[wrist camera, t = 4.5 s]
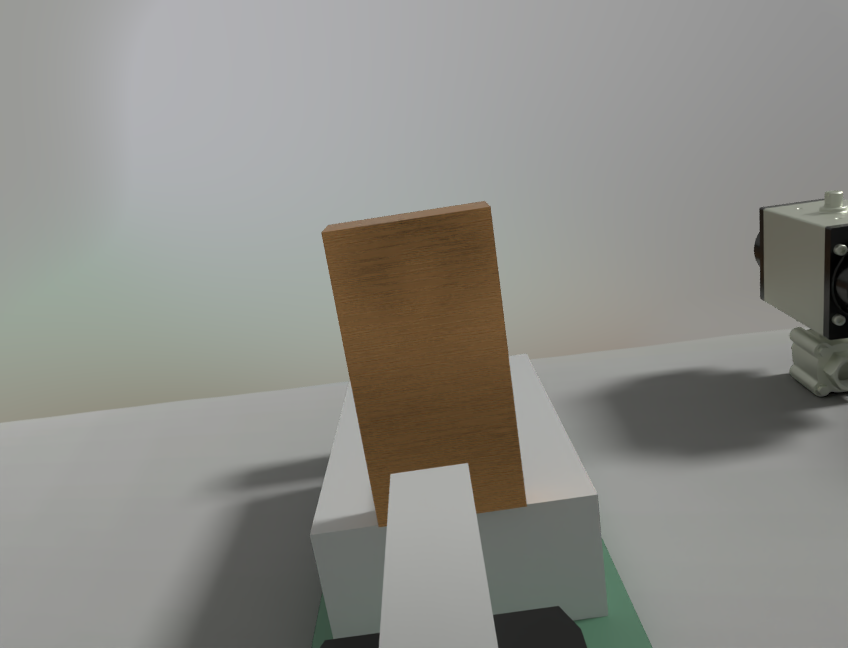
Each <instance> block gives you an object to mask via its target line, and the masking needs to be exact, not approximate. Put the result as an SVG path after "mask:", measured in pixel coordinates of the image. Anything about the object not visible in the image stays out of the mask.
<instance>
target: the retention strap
mask: <svg viewBox="0 0 848 648" xmlns="http://www.w3.org/2000/svg"><path fill="white" fill-rule="evenodd" d="M322 238H323V243H324V248H325V254H326V259H327V264H328V269H329V274H330V279H331V284H332V290H333V295H334V300H335V305H336V310H337V315H338V321H339V326H340V331H341V335H342V341H343V346H344V351H345V356H346V361H347V367H348V372H349V377H350V382H351V387H352V393H353V398H354V403H355V408H356V413H357V418H358V423H359V429H360V434H361V439H362V444H363V449H364V454H365V460H366V465H367V470H368V475H369V480H370V485H371V490H372V496H373V501H374V506H375V511H376V516H377V521H378V526H379V527H385V526H387V518H388V503H389V488H390V474H394V473H401V472H408V471H415V470H422V469H429V468H436V467H443V466H450V465H457V464H464V463H468V466H469V472H470V479H471V485H472V491H473V497H474V503H475V509H476V514H477V513H485V512H492V511H499V510H506V509H513V508H520V507H527V503H526V494H525V486H524V478H523V470H522V462H521V453H520V445H519V437H518V429H517V421H516V412H515V404H514V396H513V388H512V380H511V371H510V363H509V355H508V347H507V339H506V331H505V324H504V323H505V322H504V314H503V306H502V298H501V289H500V281H499V273H498V266H497V257H496V249H495V241H494V233H493V224H492V216H491V207H490V206H489V205H488V204H487V203H486V202H485V201H482V202H475V203H469V204H463V205H456V206H449V207H443V208H437V209H430V210H423V211H417V212H410V213H404V214H398V215H391V216H384V217H378V218H371V219H365V220H358V221H352V222H345V223H339V224H332V225H328V226H327V227H326V228H325V229H324V230H323V231H322Z"/></svg>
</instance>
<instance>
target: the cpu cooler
mask: <svg viewBox="0 0 848 648" xmlns="http://www.w3.org/2000/svg"><path fill="white" fill-rule="evenodd" d="M509 363H510V371H511V380H512V388H513V396H514V404H515V412H516V421H517V429H518V437H519V445H520V453H521V462H522V470H523V478H524V486H525V494H526V503H527V507H520V508H513V509H506V510H499V511H492V512H485V513H477V514H476V515H477V521H478V527H479V533H480V540H481V546H482V552H483V558H484V564H485V570H486V576H487V582H488V588H489V595H490V601H491V607H492V613H493V615H495V614H502V613H510V612H517V611H524V610H532V609H539V608H546V607H554V606H559V607H560V608H561V609H562V610H563V611H564V612H565V613H566V614H567V615H568V616H569V617H570V618H571V619H572V620H573V621H574V622H575V623H576V624H577V625H578V626H579V627H580V628H581V630H582V633H583V636H584V639H585V642H586V645H587V648H652V646H651V644H650V641H649V639H648V637H647V635H646V633H645V631H644V628H643V626H642V624H641V622H640V620H639V618H638V615H637V613H636V611H635V609H634V607H633V604H632V602H631V600H630V598H629V596H628V594H627V591H626V589H625V587H624V585H623V583H622V581H621V578H620V576H619V574H618V572H617V570H616V568H615V565H614V563H613V561H612V559H611V557H610V555H609V552H608V550H607V548H606V546H605V544H604V542H603V539H602V537H601V526H600V514H599V503H598V494H597V492H596V490H595V488H594V486H593V484H592V482H591V480H590V478H589V476H588V474H587V472H586V470H585V468H584V466H583V464H582V462H581V460H580V458H579V456H578V454H577V452H576V450H575V448H574V446H573V444H572V442H571V440H570V438H569V436H568V434H567V433H566V431H565V429H564V427H563V425H562V423H561V421H560V419H559V417H558V415H557V413H556V411H555V409H554V407H553V405H552V403H551V401H550V399H549V397H548V395H547V393H546V391H545V389H544V387H543V385H542V383H541V381H540V379H539V377H538V375H537V373H536V371H535V369H534V367H533V365H532V363H531V361H530V359H529V357H528V355H527V354H520V355H514V356H509ZM386 533H387V526H385V527H379V526H378V521H377V516H376V511H375V506H374V501H373V496H372V490H371V485H370V480H369V475H368V470H367V465H366V460H365V454H364V449H363V444H362V439H361V434H360V429H359V423H358V418H357V413H356V408H355V403H354V398H353V393H352V387H351V382H350V380H349V384H348V388H347V392H346V396H345V400H344V404H343V407H342V411H341V415H340V419H339V423H338V427H337V431H336V435H335V438H334V442H333V446H332V450H331V454H330V458H329V462H328V466H327V470H326V473H325V477H324V481H323V485H322V489H321V493H320V497H319V501H318V505H317V508H316V512H315V516H314V520H313V524H312V528H311V532H310V539H311V543H312V548H313V552H314V556H315V561H316V565H317V569H318V574H319V578H320V583H321V587H322V596H321V601H320V606H319V611H318V617H317V622H316V627H315V632H314V637H313V642H312V647H311V648H320V647H321V645H322V644H323V642H324V641H325V640H330V639H337V638H344V637H352V636H359V635H366V634H373V633H380V623H381V608H382V593H383V578H384V563H385V548H386Z"/></svg>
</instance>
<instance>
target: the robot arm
mask: <svg viewBox="0 0 848 648" xmlns="http://www.w3.org/2000/svg"><path fill="white" fill-rule="evenodd" d="M320 648H587V645H586V642H585V639H584V636H583V633H582V630H581V628H580V627H579V626H578V625H577V624H576V623H575V622H574V621H573V620H572V619H571V618H570V617H569V616H568V615H567V614H566V613H565V612H564V611H563V610H562V609H561V608H560V607H559V606H554V607H546V608H539V609H532V610H524V611H517V612H510V613H502V614H495V615H493V613H492V607H491V601H490V595H489V588H488V582H487V576H486V570H485V564H484V558H483V552H482V546H481V540H480V533H479V527H478V521H477V515H476V509H475V503H474V497H473V491H472V485H471V479H470V472H469V466H468V463H464V464H457V465H450V466H443V467H436V468H429V469H422V470H415V471H408V472H401V473H394V474H390V488H389V503H388V518H387V533H386V548H385V563H384V578H383V593H382V608H381V623H380V633H373V634H366V635H359V636H352V637H344V638H337V639H330V640H325V641H324V642H323V644H322V645H321V647H320Z"/></svg>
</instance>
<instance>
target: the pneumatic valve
mask: <svg viewBox="0 0 848 648" xmlns="http://www.w3.org/2000/svg"><path fill="white" fill-rule="evenodd" d="M754 254H755V258H756V261H757V263H758V265H759V266H760V297H761V299H762V300H763V301H765V302H767V303H769V304H770V305H772V306H774V307H775V308H777V309H779V310H780V311H782V312H784V313H785V314H787V315H789V316H790V317H792V318H794V319H795V320H796V321H799V322H800V323H802V324H804V325H805V326H807V327H809V328H810V329H809V330H805V329H803V328H801V327H797V328H794V329H792V331H791V332H790V339H791V340H792V341H793V344H792V347H791V349H792V358H793V362H794V364H793V365H792V366H791V368H790V371H789V373H790V375H791V376H792V377H793V378H795V379H796V380H797V381H798V382H800V383H801V384H802V385H804V386H805V387H806V388H807V389H809V390H810V391H811V392H813V393H814V394H815V395H817V396H819V397H823V396H826V395H828V394H829V392H845V391H848V200H845V199H843V192H841V191H828V192H825V199H819V200H811V201H804V202H796V203H790V204H782V205H775V206H768V207H761V208H760V232H759V234H758V236H757V238H756V241H755V245H754Z"/></svg>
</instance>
